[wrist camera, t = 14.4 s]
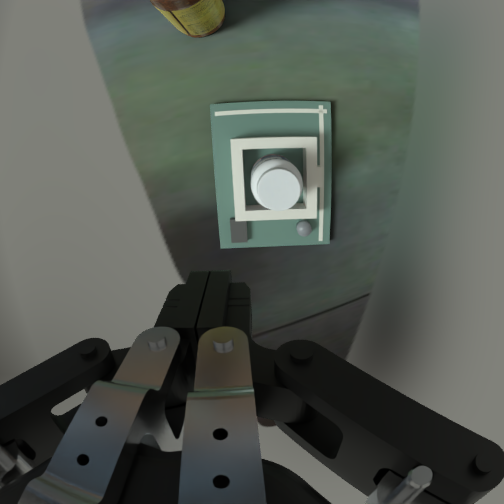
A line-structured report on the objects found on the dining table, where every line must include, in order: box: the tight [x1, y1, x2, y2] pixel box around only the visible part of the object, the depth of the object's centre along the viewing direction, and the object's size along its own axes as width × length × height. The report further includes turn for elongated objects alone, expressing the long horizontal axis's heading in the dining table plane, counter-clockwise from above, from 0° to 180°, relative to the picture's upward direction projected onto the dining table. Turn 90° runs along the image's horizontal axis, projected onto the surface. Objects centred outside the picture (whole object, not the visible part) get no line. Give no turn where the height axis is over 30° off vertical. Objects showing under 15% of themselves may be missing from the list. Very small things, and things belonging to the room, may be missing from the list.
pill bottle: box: [251, 154, 303, 211], centre depth 31 cm, size 5×5×9 cm
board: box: [210, 101, 332, 248], centre depth 35 cm, size 18×14×4 cm
